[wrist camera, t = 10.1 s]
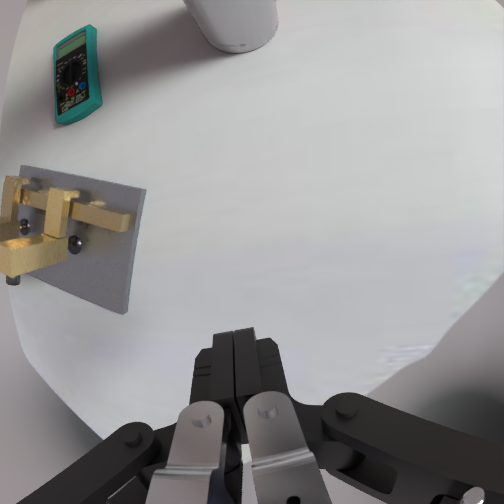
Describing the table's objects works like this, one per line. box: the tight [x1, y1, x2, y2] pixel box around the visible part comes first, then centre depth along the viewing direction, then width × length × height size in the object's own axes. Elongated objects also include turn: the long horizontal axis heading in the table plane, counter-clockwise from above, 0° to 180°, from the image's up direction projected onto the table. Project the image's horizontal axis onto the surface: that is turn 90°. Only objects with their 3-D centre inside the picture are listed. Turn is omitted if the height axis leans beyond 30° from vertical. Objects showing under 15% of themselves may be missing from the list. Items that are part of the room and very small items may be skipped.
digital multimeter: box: [54, 25, 102, 125], centre depth 34 cm, size 7×15×3 cm, turn 13°
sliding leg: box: [0, 188, 80, 285], centre depth 31 cm, size 10×3×12 cm, turn 166°
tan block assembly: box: [0, 176, 133, 242], centre depth 31 cm, size 10×22×12 cm, turn 76°
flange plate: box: [18, 165, 146, 315], centre depth 38 cm, size 16×23×1 cm
